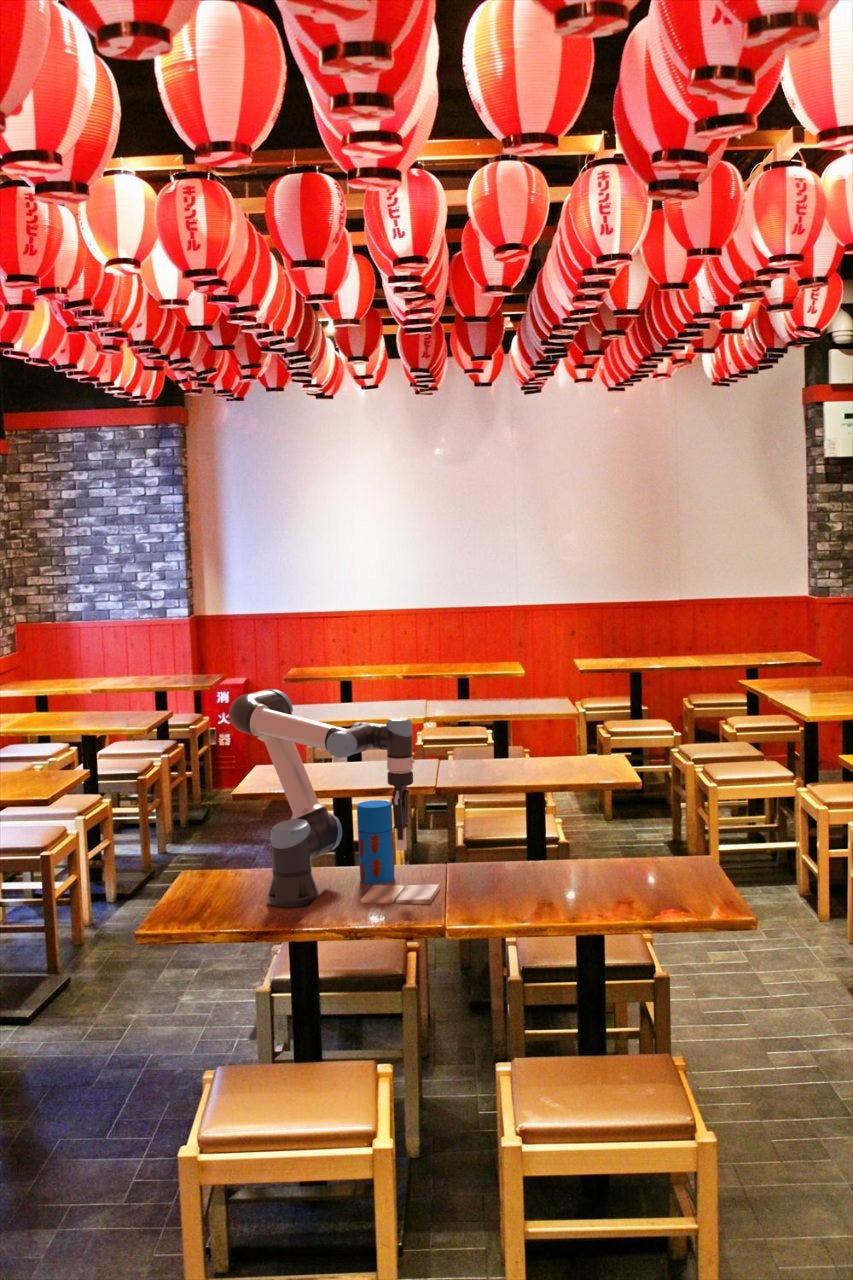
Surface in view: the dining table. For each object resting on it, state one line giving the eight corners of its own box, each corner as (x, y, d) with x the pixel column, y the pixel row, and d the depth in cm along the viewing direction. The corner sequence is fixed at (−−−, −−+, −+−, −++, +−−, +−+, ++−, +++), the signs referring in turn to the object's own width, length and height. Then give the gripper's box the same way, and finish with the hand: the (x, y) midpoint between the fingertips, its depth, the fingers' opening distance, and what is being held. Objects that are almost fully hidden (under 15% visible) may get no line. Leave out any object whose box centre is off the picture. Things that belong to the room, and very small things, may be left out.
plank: (396, 906, 345) (395, 900, 345) (407, 891, 360) (407, 885, 360) (430, 905, 343) (429, 899, 343) (439, 890, 358) (439, 884, 358)
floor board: (360, 907, 347) (360, 900, 347) (373, 891, 363) (373, 884, 362) (431, 908, 343) (430, 901, 343) (441, 892, 358) (441, 885, 358)
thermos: (394, 887, 366) (390, 807, 364) (359, 888, 366) (355, 808, 364) (395, 877, 377) (392, 799, 375) (361, 878, 377) (358, 800, 375)
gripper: (408, 775, 342) (409, 856, 345) (417, 766, 355) (418, 844, 357) (382, 774, 344) (384, 855, 346) (392, 766, 357) (393, 843, 359)
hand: (401, 849), depth 352 cm, fingers closed
